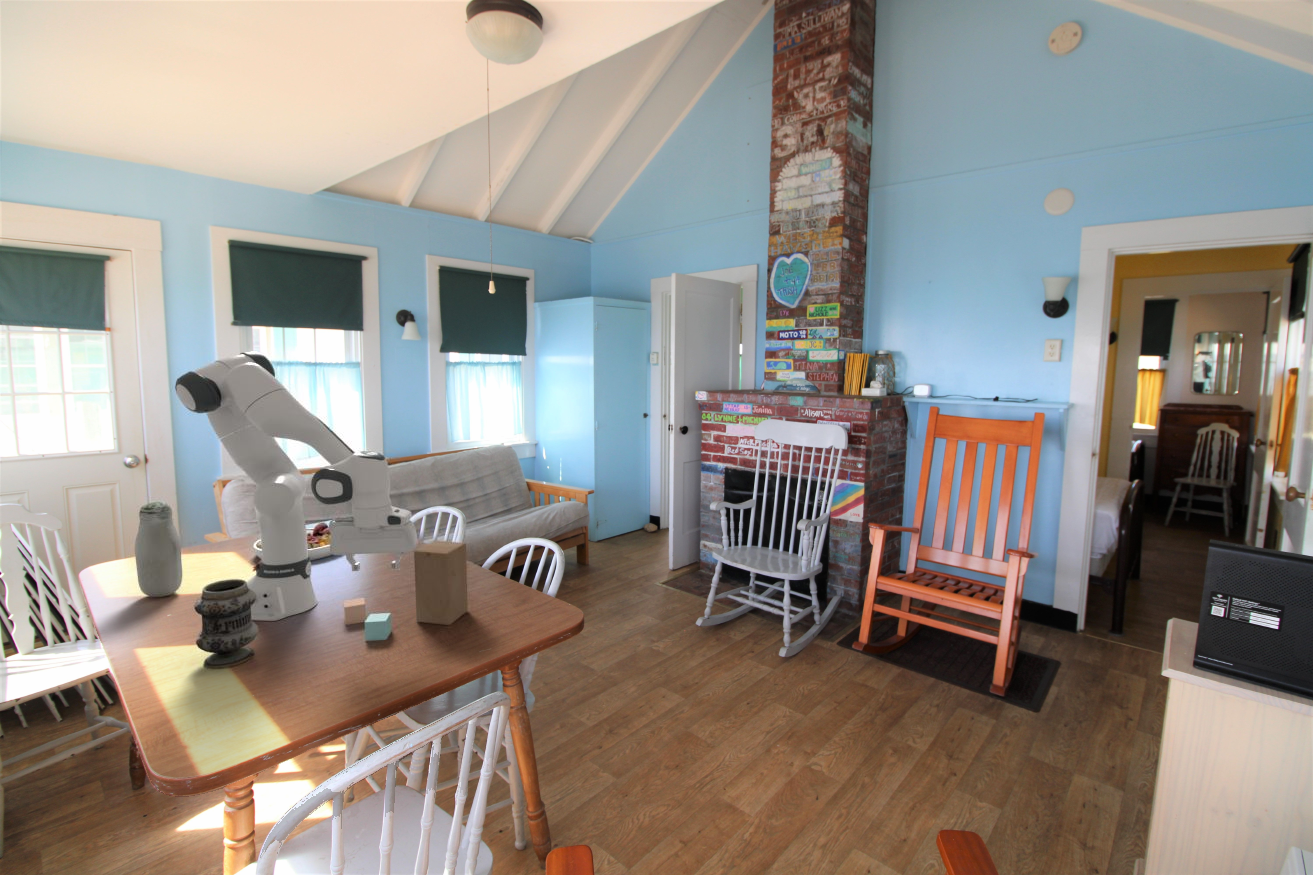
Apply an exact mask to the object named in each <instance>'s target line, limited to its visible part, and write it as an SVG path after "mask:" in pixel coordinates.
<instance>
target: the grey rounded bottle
mask: <svg viewBox="0 0 1313 875" xmlns="http://www.w3.org/2000/svg"><path fill="white" fill-rule="evenodd" d="M138 517H139V524H138V531H137V534H136V537H135V543H134V555H135V564H136V576H137V582H138V586H139V588H140V591H141V592H142V594H144V595H145V596H147V597H150V598H162V597H167V596H170V595H173V594H174V593H176V592H177V591H178V590H179V588H180V587H181V585H182V583H183V582H182V581H183V564H182V563H183V562H182V544H181V543H182V542H181V537H180V534H179V533H178V530H177V528H176V526H175V522H174V519H173V509H172V507H171V506H170V505H169V504H168V503H166V502H163V501H161V502H160V501H156V502H149V503H146V504H144V505H142V506H141V507H140V509H139V512H138Z"/></svg>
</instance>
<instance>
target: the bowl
mask: <svg viewBox="0 0 1313 875" xmlns="http://www.w3.org/2000/svg"><path fill="white" fill-rule="evenodd" d="M306 529H307V545H308V555H309V556H310V562H311V561H315V560H320V559H324V558H328V557H330V556H334V555H333V554H332V553H331V552H330V537H331V534H330V532H329V524H327V523H326V522H319V523H317V524H316V525H315V526H314V528H306ZM253 551H254V554H255V555H256V557H258V559H260V560H261V559H262V548H261V538H260V539H258V540H257V541H256V542H254V543H253Z"/></svg>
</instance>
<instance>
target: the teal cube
mask: <svg viewBox="0 0 1313 875" xmlns="http://www.w3.org/2000/svg"><path fill="white" fill-rule="evenodd" d="M392 630H393V629H392V613H391V612H387V613H385V612H384V613H383V612H382V613H381V612H380V613H370V614H369V615H368V616H367V617H366V621H365V622H364V637H365V638H364V640H365V642H366V641H367V642H368V641H384V640H387V639H388V638H389V636H390V635H391V633H392Z"/></svg>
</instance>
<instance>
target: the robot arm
mask: <svg viewBox="0 0 1313 875" xmlns="http://www.w3.org/2000/svg"><path fill="white" fill-rule="evenodd" d="M174 388H175V392H176V395H177V397H178V399H179V401H180V402H181V403H182V404H183V405H184V407H185V408H186V409H187V410H189V411H190V412H192V413H196V414H206V416H207V419H208V420H209V421H208V422H209V423H210V425H211V427H212V429H213V431H214V433H215V434H216V436H217V438H218V439H219V440H220V442H221V444H222V445H223V446H224V448H225V449H226V450H225V451H227V453H228V454H229V456H230V457H231V459H232V461H233V462H234V464H235V465H236V466H237V467H238V468H239V469H241V470H242V471H243V472H244V473H245V474H246V476H247V477H248V478H249V479H250V480H251V481H252V482H253V484H254V485H255V486H256V487H255V488H254V491H253V494H252V496H253V498H252V500H253V504H254V505H253V506H254V510H255V517H256V521H257V525H258V529H259V534H260V539H261V548H262V559H261V558H260V560H259V562H257V563H256V564H255V566H253V567H252V569H253V570H252V572H255V575H254V576H253V577H251V578H250V579H248V581H246V582H247V586H248V588H249V589H251V590H253V591H254V592H255V594H256V600H255V602H254V603H253V605H252V606H251V619H252V621H266V622H267V621H268V622H269V621H272V622H275V621H279V620H281V619H285V618H287V617H290V616H293V615H297V614H301V613H304V612H306V611H308V610H311V609H313V608H314V607H316V605H317V604H318V603H319V602H318V599H317V597H316V594H315V592H314V591H315V590H314V588H313V583H312V580H311V578H312V577H311V575H312V563H311V561H310V556H309V555H308V545H307V529H308V528H307V527H306V521H305V516H304V509H303V499H304V496H305V494H306V492H307V487H308V486H307V481H306V478H305V476H303V474H302V473H301V472H300V470H299V468H297V466H296V465H295V463H294V462H293V461H292V459H291V458H290V457H289V456H288V455H287V453H286V452H285V451H284V449H283V448H282V447H281V446H280V444H279V442H278V441H277V440H276V439H275V438H277V439H286V440H292V441H296V442H297V441H298V442H300V443H304V444H306V445H307V446H310V447H311V448H312V449H314V450H315V451H316V452H317V453H318V454H319V455H320V456H322V458H323V459H324V460H325V461H326V462H328V463H329V465H328V466H325V467H322V468H321V469H319V470H317V471H316V472H315V473H314V474H313V476H312V478H311V483H310V488H311V492H312V494H313V496H314V497H315V499H316V500H317V501H318V502H320V503H321V504H324V505H339V504H341V503H348V502H349V503H351V505H352V508H351V509H352V516H346V517H340V516H339V517H335V518H334V519H333V518H332V520H330V521H329V523H328V527H329V532H330V534H331V537H330V552H331V553H332V554H333V555H332V556H342V555H343V556H344V555H345V559H346V560H347V561H348V563H349V564H350V565H351V571H352V572H359V571H360V570H361V562H357V561H356V559H355V558H354V556H356V555H367V554H369V555H370V554H388V553H389V554H392V553H393V554H394V553H395V557H396V560H392V561H391V565H390V566H391V570H398V569H399V568H400V561H401V559H402V557H403V555H404V553H412V552H414V551H415V550H416V548H418V545H419V544H418V543H419V542H418V541H419V540H418V534H417V529H416V526H415V523H414V522H413V521H412V520H411V519H412V516H413V515H412V512H411V511H410V510H407V509H403V508H399V507H396V506H393V505H392V499H391V496H390V490H391V478H390V469H389V464H388V461H387V459H386V456H384V454H381V453H379V452H375V451H372V450H371V451H369V450H368V451H367V450H366V451H365V450H361V451H360V450H359V451H356V452H355V451H354V450H353V449H351V447H350V446H349V445H347V444H346V443H345V442H344V440H342V439H341V438H340V437H339V435H338V434H336V433H335V432H334V431H333V430H332V429H331V428H330V427H329V426H328V425H327V424H326V423H325V422H323V421H322V420H321V419H320V418H318V417H317V416H315V415H314V414H313V413H311V411H309V410H308V409H307V408H305V407H304V405H302V404H301V403H300V402H299V401H298V400H297V399H296V397H294V396H293V394H291V392H290V391H289V390H288V389H287V388H286V387H285V386H284V385H283V384H282V383H281V382H280V381H279V379H277V377H276V372H275V368H274V366H273V364H272V363H271V361H270V360H269V359H268V358H267V356H266V355H263V353H261V352H259V351H245V352H240V354H239V353H238V354H236V355H231V356H228V357H224V358H220V359H217V360H214V362H212V363H209V364H207V365H204V366H202V367H200V368H197V369H195V370H194V371H191V370H190V371H187V372H186V373H185V374H182V375H181V376H179V377H178V378H177V379H176V380H175V386H174Z"/></svg>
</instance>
